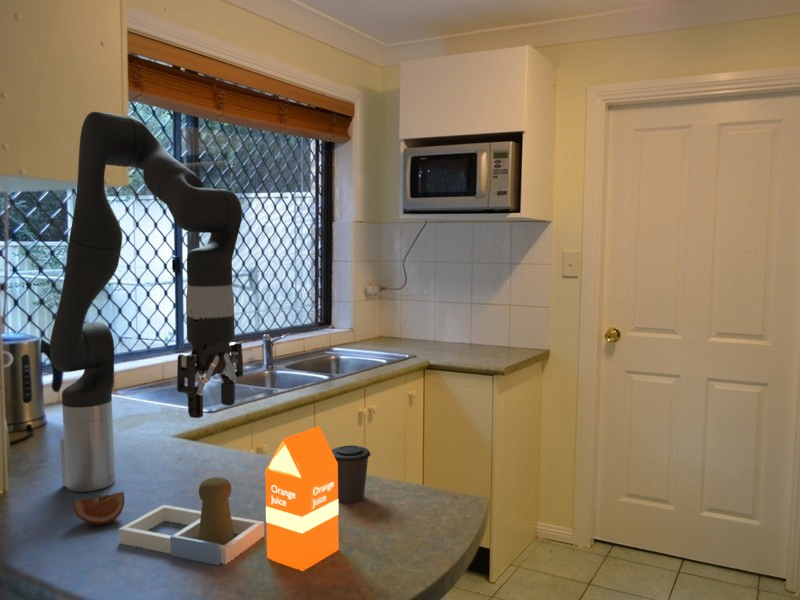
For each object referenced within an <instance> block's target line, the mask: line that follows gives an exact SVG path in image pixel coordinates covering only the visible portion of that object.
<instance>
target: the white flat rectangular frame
mask: <svg viewBox="0 0 800 600" xmlns="http://www.w3.org/2000/svg"><path fill="white" fill-rule="evenodd" d="M200 519H201V510H197V509H196V510H195V509H190V508H186V507H180V506H173V505H167V504H162V505H161V506H159V507H156V508H154V509H153V510H151V511H149V512H147V513H145V514H143V515H142V516H140V517H138V518H137V519H135V520H132V521H131V522H130V521H129V523H127V524H125V525H123V526H122V527H119V528H118V543H119V544H120V545H126V546H131V547H136V546H137V547H136V548H140V547H141V549H145V550H151V551H156V552H161V553H165V554H170V556H171V557H174V558H175V557H176V558H181V559H186V560H189V561H190V560H191V561H195V562H199V563H200V562H201V563H205V564H209V565H214V564H215V565H214V566H219V565H225V564H226V565H227V563H228V562H229V563H230V562H231V560H232V561H233V560H234V559H235V557H236V558H237V557H239V555H241V554H242V553H244V552H245V551H247V549H249V548H250V547H252V546H253V545H254V544H256V543H257V542H258V541H260V540H261V539H262V538H263V537H265V521H261V520H255V519H250V518H244V517H239V516H238V517H237V516H232V515H231V519H232V526H233V532H234V535H236V537H235V536H234V539H232V540H231V541H230V542H228V543H227V544H225V545H220V544H218V543H213V542H208V541H202V540H198V537H199V528H200ZM163 521H164V522H167V521H170V522H169V523H173V522H175V523H174V524H178V523H180V524H179V525H184V526H185V527H184V528H182V529H181V530H179V531H177V532H176V533H174V534H172V535H170V534H165V533H158V532H155V531H150V530H152V529H154V528H155V527H157V526H158V524H159V523H160V524H162V523H164V522H163ZM161 522H162V523H161ZM160 524H159V525H160ZM156 525H157V526H156ZM154 526H155V527H154ZM151 528H152V529H151ZM149 529H150V530H149ZM240 553H241V554H240ZM220 563H222V564H220ZM229 563H228V564H229Z"/></svg>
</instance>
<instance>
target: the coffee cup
mask: <svg viewBox="0 0 800 600" xmlns="http://www.w3.org/2000/svg"><path fill="white" fill-rule="evenodd" d="M331 451H332V453H333V455H334V457H335V459H336V461H337V463H338V503H341V504H347V505H349V504H351V505H352V504H357V503H361V502H363V500H364V498H365V491H366V480H367V473H368V472H367V470H368V463H369V457H370V456H371V452H370V450H369V449H368V448H366V447H363V446H360V445H343V446H339V447H335V448H333V449H331Z"/></svg>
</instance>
